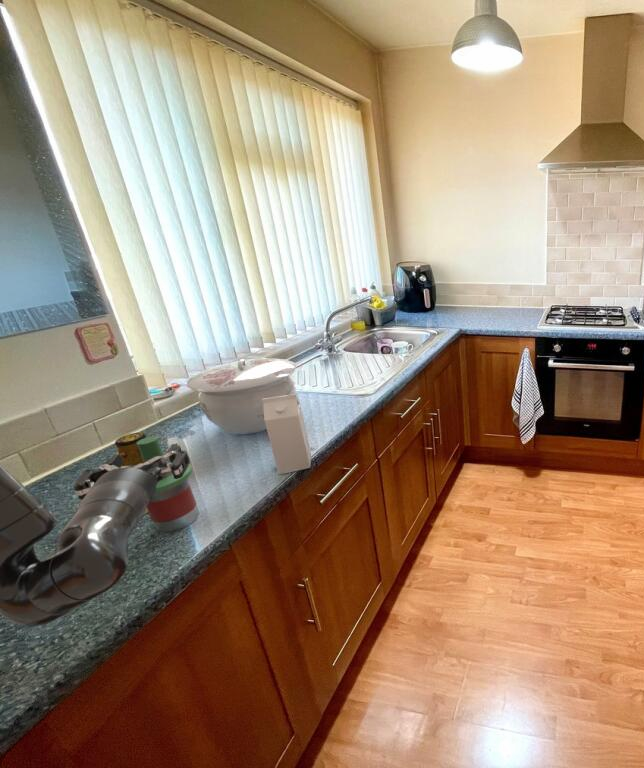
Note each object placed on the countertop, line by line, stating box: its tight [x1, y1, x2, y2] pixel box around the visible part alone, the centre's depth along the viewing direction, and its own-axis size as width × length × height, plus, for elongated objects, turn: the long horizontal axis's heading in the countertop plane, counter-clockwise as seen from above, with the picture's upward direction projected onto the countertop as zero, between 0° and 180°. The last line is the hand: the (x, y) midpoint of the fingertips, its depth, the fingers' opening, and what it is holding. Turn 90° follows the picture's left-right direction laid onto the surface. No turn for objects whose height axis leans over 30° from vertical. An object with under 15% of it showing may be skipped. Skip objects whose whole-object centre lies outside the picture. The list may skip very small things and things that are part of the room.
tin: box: [147, 479, 200, 533], centre depth 82 cm, size 7×7×10 cm
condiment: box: [114, 432, 147, 467], centre depth 94 cm, size 7×8×12 cm
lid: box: [136, 436, 193, 493], centre depth 78 cm, size 10×10×9 cm
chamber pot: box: [186, 357, 297, 435], centre depth 120 cm, size 28×28×21 cm
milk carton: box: [262, 393, 312, 475], centre depth 99 cm, size 7×7×19 cm
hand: (148, 453), depth 76 cm, fingers open, 8 cm apart
